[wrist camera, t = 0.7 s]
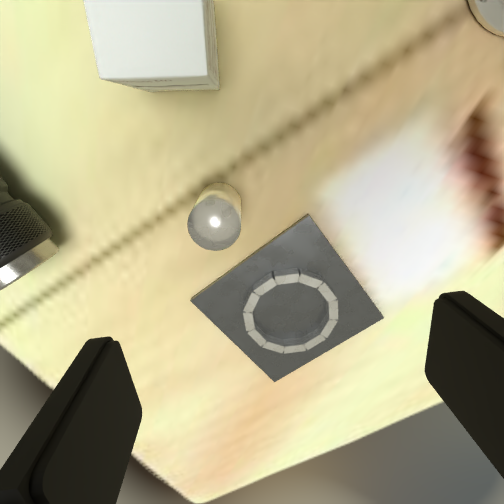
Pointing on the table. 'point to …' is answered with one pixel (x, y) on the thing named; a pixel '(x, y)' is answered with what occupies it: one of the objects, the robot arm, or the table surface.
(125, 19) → the supplement box
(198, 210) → the piston
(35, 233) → the muzzle brake
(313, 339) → the ring mat
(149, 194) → the table surface
